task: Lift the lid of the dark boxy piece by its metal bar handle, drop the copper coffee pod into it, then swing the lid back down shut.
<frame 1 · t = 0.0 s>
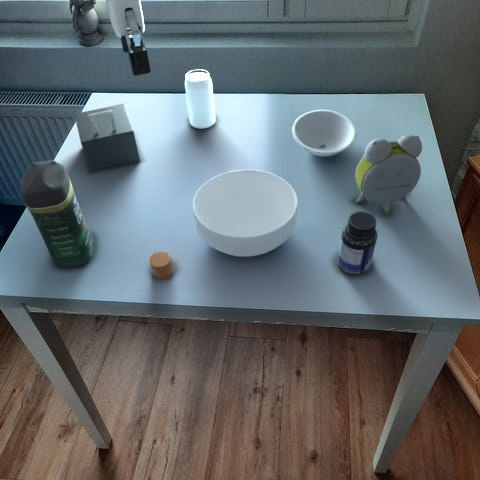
hand: (136, 61, 87), 25 cm above the table, tool pointing down, fingers open, 9 cm apart
dish: (321, 150, 111), on the table
pill bottle: (352, 265, 88), on the table
dark boxy piece: (112, 154, 113), on the table
coffee jar: (75, 253, 94), on the table
lid: (100, 114, 104), point 10 cm above the table, hinge at 0.0°
can: (203, 123, 120), on the table
bowl: (246, 235, 94), on the table
alarm clock: (381, 207, 98), on the table
pod: (163, 272, 89), on the table
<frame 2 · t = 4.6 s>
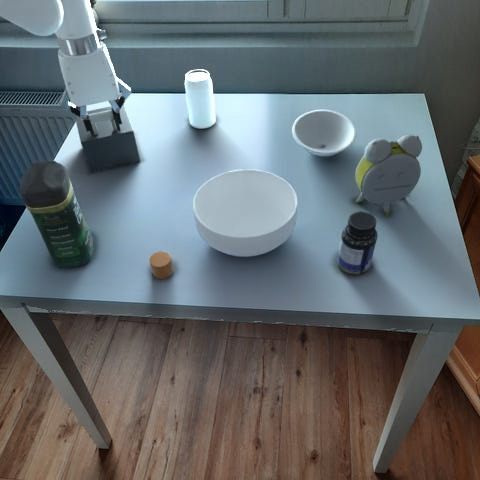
hand: (105, 129, 103), 9 cm above the table, tool pointing down, fingers closed on lid, 5 cm apart
lid: (100, 114, 104), point 10 cm above the table, hinge at 0.0°, touching gripper
everything else where it was.
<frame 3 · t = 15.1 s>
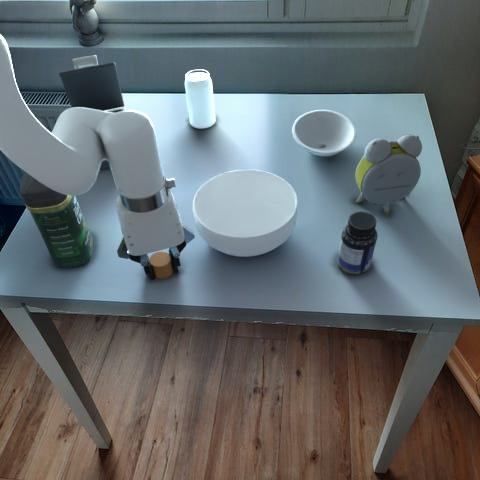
hand: (163, 271, 89), 0 cm above the table, tool pointing down, fingers closed on pod, 4 cm apart
lid: (91, 82, 104), point 15 cm above the table, hinge at 67.5°
pod: (163, 272, 89), on the table, touching gripper
everything else where it was.
when the fingers open (7 cm above the table, at t = 24.4 s): pod stays where it is, resting on dark boxy piece.
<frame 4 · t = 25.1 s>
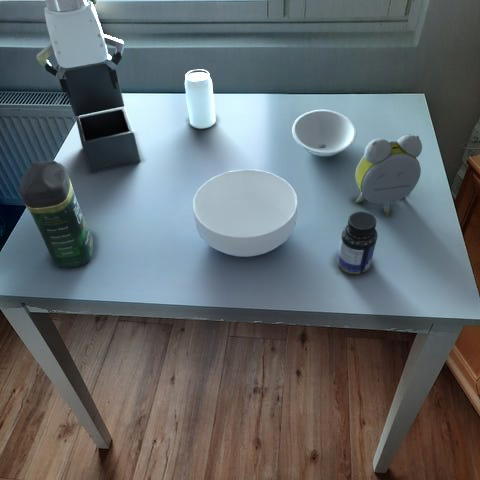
hand: (92, 90, 100), 16 cm above the table, tool pointing down, fingers open, 9 cm apart
lid: (91, 81, 105), point 15 cm above the table, hinge at 71.5°, touching gripper
pod: (113, 157, 111), point 1 cm above the table, touching dark boxy piece
everything else where it was.
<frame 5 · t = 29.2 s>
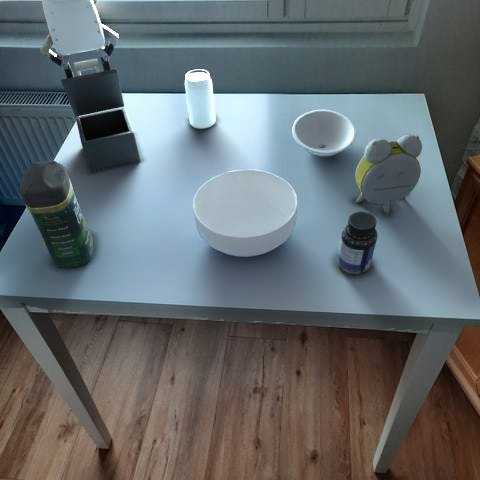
hand: (91, 80, 102), 16 cm above the table, tool pointing down, fingers open, 6 cm apart
lid: (92, 85, 104), point 15 cm above the table, hinge at 59.6°, touching gripper
everything else where it was.
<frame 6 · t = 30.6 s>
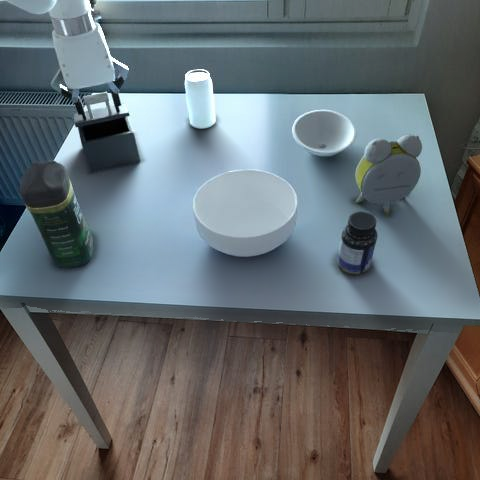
hand: (100, 112, 102), 12 cm above the table, tool pointing down, fingers open, 6 cm apart
lid: (97, 104, 104), point 12 cm above the table, hinge at 18.3°, touching gripper
everything else where it was.
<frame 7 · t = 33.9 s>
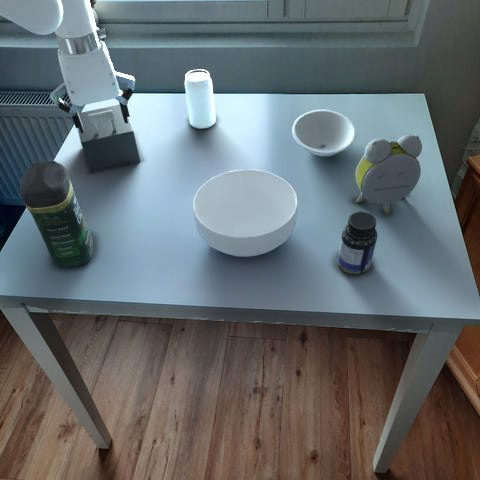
hand: (103, 125, 102), 10 cm above the table, tool pointing down, fingers open, 9 cm apart
lid: (100, 114, 104), point 10 cm above the table, hinge at -0.2°, touching dark boxy piece
everything else where it was.
at the end: lid reached +81° during the clip, +0° at the end; pod inside the target area in the dark boxy piece (2.5 cm from its centre), point 0.8 cm above the dark boxy piece's base; lid at +0° (first picture: +0°) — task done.
